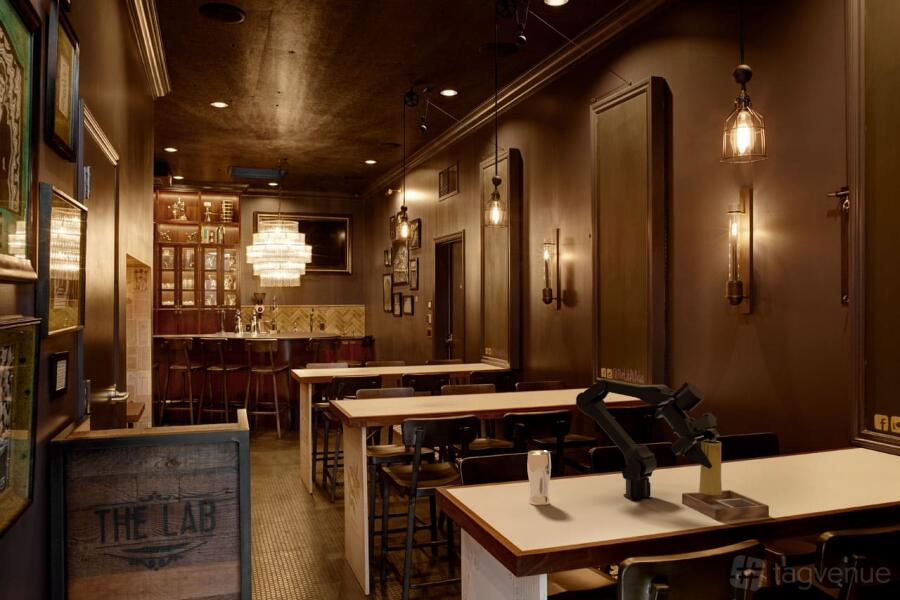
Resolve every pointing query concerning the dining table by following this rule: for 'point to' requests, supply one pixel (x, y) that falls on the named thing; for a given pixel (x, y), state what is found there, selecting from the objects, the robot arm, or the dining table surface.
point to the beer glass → (539, 476)
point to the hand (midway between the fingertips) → (715, 466)
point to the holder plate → (733, 503)
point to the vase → (712, 476)
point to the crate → (707, 507)
